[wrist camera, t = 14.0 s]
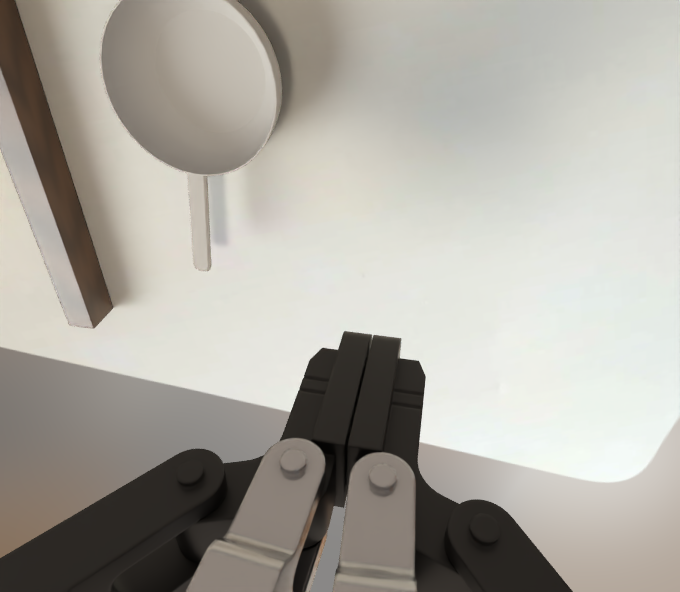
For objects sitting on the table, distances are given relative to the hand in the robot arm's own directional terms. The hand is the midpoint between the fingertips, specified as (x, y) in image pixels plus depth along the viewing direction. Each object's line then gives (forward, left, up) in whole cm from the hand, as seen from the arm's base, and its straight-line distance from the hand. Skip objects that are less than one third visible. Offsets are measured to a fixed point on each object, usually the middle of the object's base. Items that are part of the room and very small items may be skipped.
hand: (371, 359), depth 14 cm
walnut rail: (+3, -27, -22) cm, 35 cm away
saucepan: (+2, -14, -23) cm, 27 cm away
